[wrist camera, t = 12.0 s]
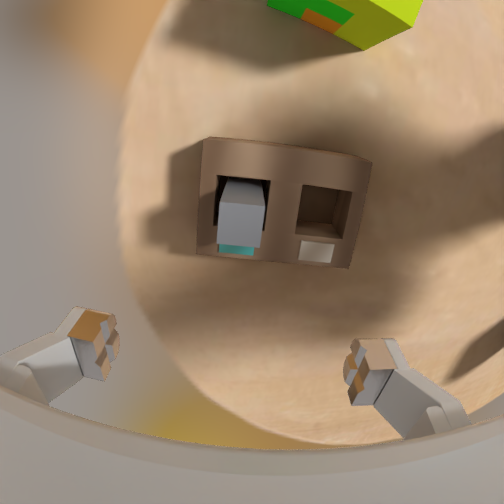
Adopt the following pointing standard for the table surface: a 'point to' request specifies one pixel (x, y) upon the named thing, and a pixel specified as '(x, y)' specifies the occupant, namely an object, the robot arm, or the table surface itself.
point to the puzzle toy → (355, 17)
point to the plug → (241, 213)
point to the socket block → (284, 200)
